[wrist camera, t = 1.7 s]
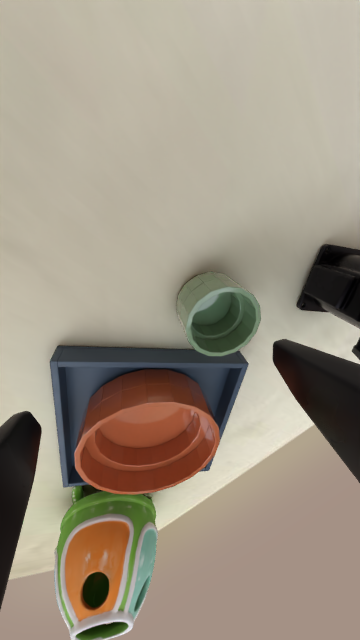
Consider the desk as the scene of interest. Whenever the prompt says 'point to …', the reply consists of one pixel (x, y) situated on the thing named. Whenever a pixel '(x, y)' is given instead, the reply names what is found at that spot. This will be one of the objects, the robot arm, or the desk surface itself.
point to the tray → (111, 362)
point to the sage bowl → (217, 314)
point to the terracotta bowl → (145, 433)
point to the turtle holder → (104, 562)
